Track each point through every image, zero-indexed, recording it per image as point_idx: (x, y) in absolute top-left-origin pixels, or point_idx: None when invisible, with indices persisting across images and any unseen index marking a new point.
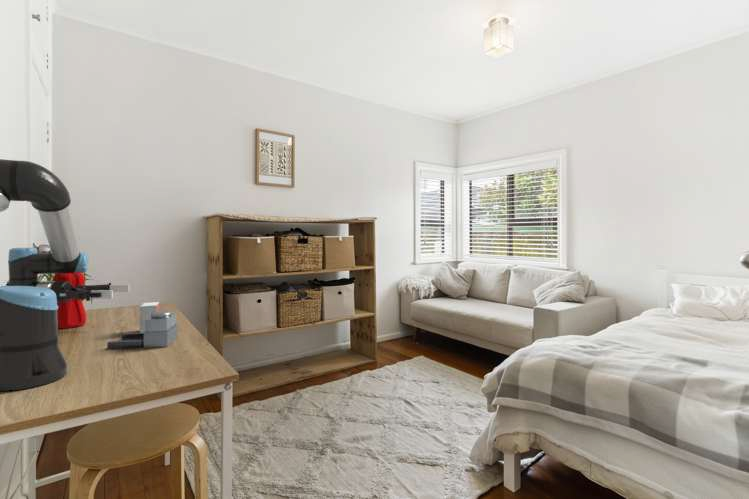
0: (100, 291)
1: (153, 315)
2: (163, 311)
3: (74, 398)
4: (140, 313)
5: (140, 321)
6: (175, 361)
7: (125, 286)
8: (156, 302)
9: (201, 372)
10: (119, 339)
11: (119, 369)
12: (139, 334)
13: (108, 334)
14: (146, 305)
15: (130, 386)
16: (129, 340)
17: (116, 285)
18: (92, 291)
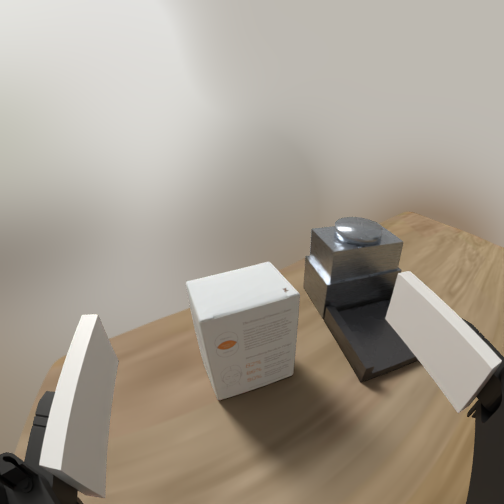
0: (454, 319)
1: (382, 231)
2: (344, 227)
3: None
4: (297, 316)
5: (295, 341)
6: (412, 245)
7: (96, 343)
8: (199, 283)
9: (418, 223)
10: (388, 365)
11: (468, 273)
12: (350, 331)
13: (304, 481)
14: (275, 283)
15: (476, 246)
16: (384, 337)
17: (73, 405)
18: (491, 357)
